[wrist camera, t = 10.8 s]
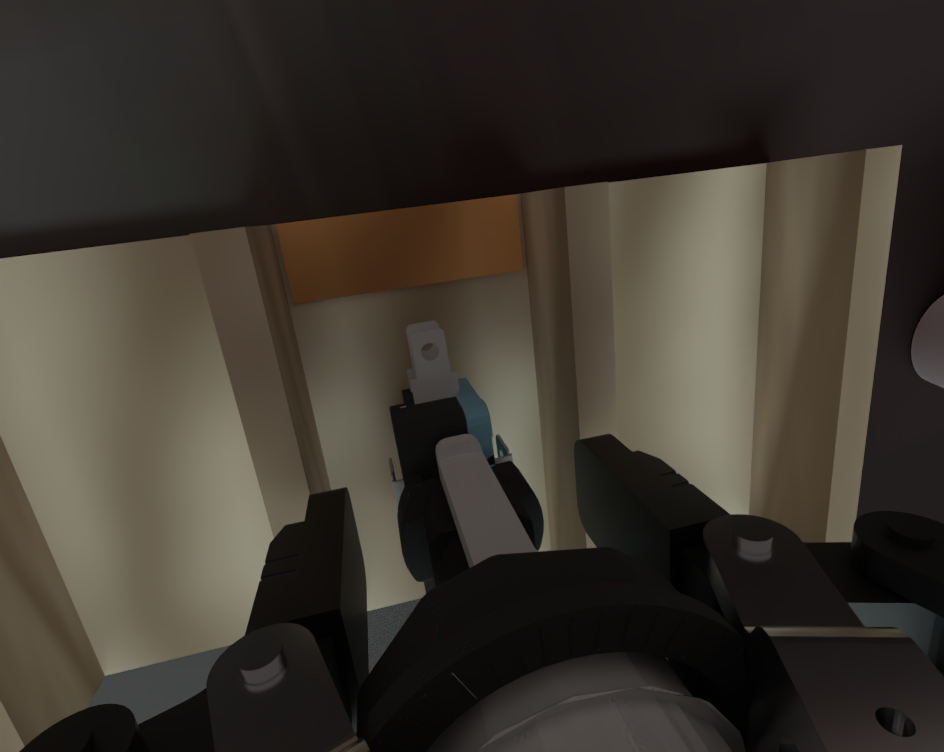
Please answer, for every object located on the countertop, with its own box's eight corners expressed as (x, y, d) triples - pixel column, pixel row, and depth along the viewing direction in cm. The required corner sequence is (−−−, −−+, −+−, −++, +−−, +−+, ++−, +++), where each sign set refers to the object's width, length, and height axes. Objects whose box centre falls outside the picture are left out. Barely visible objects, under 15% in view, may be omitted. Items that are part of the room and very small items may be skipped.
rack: (771, 162, 16) (902, 144, 12) (753, 497, 20) (850, 565, 16) (-89, 270, 13) (-290, 293, 9) (84, 658, 16) (-2, 797, 12)
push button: (313, 337, 13) (198, 669, 3) (523, 299, 14) (903, 482, 4) (367, 565, 15) (390, 1166, 5) (546, 520, 16) (835, 974, 6)
